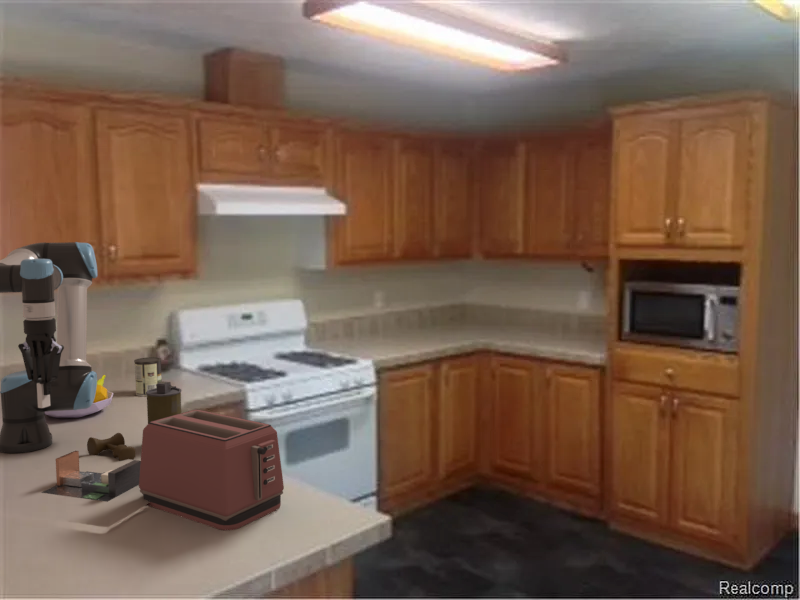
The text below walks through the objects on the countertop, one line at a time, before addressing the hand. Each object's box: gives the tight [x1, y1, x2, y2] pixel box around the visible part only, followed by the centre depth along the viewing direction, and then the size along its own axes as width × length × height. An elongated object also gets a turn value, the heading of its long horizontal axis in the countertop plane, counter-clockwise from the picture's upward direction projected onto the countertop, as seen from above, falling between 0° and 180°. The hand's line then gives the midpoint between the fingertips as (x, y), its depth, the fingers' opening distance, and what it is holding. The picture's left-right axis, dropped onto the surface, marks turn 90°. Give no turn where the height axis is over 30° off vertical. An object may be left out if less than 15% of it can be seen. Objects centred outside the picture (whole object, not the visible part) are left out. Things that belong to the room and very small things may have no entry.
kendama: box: [86, 432, 137, 461], centre depth 210 cm, size 6×10×20 cm
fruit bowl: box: [45, 374, 114, 419], centre depth 258 cm, size 28×27×11 cm
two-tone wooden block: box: [55, 450, 94, 487], centre depth 184 cm, size 6×7×7 cm
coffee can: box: [134, 356, 163, 397], centre depth 287 cm, size 10×10×14 cm
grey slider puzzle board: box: [41, 459, 141, 503], centre depth 182 cm, size 20×16×7 cm
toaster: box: [138, 408, 285, 531], centre depth 172 cm, size 19×34×20 cm, turn 57°
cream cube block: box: [101, 469, 114, 484], centre depth 181 cm, size 4×4×4 cm
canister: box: [146, 381, 183, 425], centre depth 219 cm, size 11×10×20 cm
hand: (44, 406), depth 186 cm, fingers closed
